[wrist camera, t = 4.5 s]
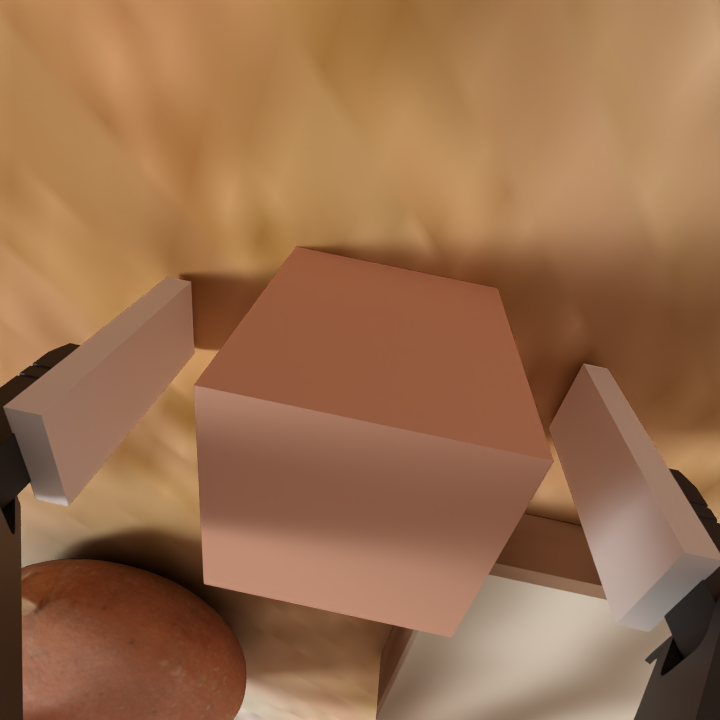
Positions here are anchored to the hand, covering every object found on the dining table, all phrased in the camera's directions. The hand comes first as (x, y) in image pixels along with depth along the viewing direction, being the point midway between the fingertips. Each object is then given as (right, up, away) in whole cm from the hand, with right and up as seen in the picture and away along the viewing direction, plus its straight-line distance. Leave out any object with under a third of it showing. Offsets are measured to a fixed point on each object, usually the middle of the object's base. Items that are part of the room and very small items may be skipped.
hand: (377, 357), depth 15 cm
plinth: (+9, -13, +7) cm, 17 cm away
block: (0, 0, 0) cm, 0 cm away
